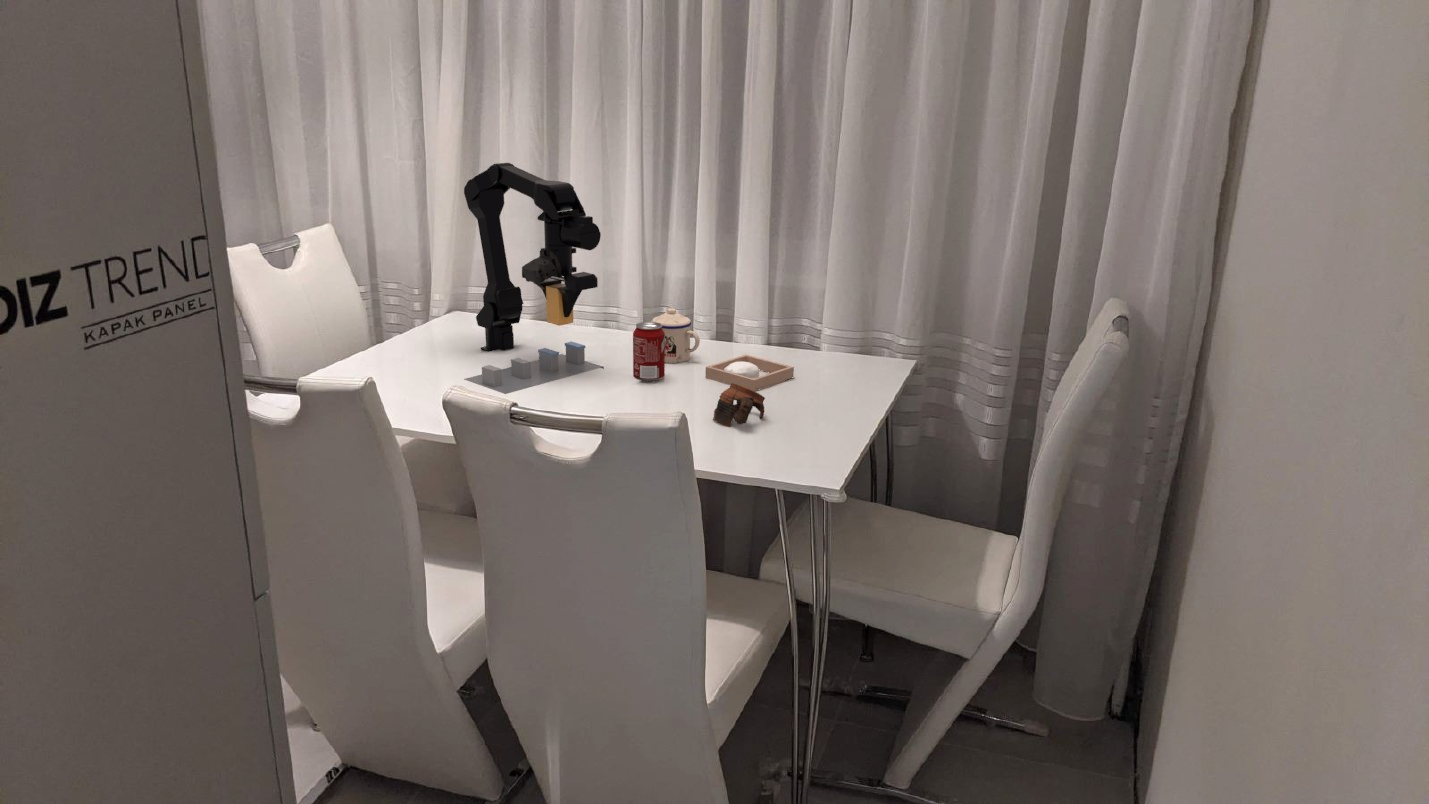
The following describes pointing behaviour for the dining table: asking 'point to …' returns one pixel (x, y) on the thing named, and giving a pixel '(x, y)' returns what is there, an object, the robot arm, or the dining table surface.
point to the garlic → (743, 369)
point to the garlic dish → (775, 376)
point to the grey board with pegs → (535, 370)
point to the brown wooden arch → (737, 405)
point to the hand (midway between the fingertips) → (560, 315)
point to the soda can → (648, 352)
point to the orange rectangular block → (556, 306)
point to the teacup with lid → (677, 336)
